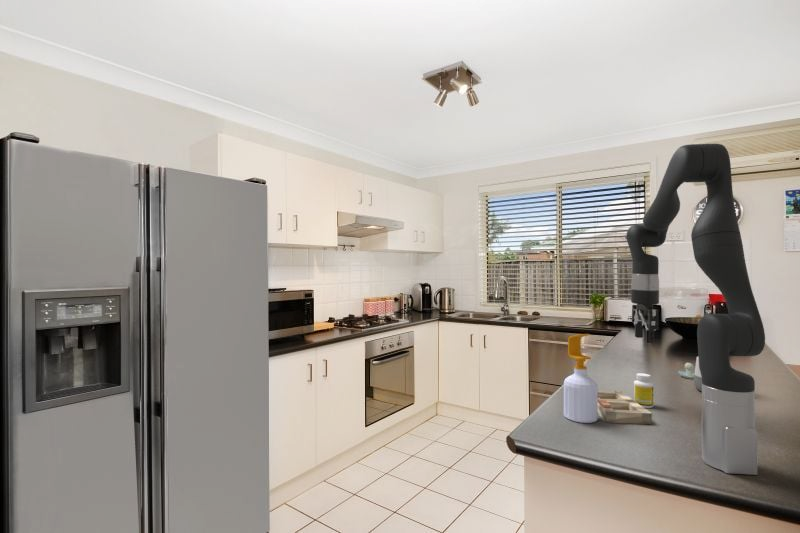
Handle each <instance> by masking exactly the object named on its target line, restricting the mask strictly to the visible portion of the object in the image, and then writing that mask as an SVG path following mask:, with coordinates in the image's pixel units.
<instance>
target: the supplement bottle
mask: <svg viewBox="0 0 800 533" xmlns="http://www.w3.org/2000/svg"><path fill="white" fill-rule="evenodd" d="M651 376H652V375H650V374H648V373H644V372H642V373H640V372H638V373H636V376H635V377H636V380H634V381H633V400H634V401H635V402H637V403H638V404H639V405H641V406H642V407H644V408H645V409H646V408H647V409H650V408H651V409H652V408H653V407H654V384H653V382H652V381H651V380H652V377H651Z"/></svg>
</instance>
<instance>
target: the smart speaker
mask: <svg viewBox="0 0 800 533" xmlns="http://www.w3.org/2000/svg"><path fill="white" fill-rule="evenodd" d="M693 374H694V379H693V383H694V387H695V389H696V390H697V391H699V392H700V393H702V376H701V372H700V369H699V356H696V361H695V367H694V373H693Z"/></svg>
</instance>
